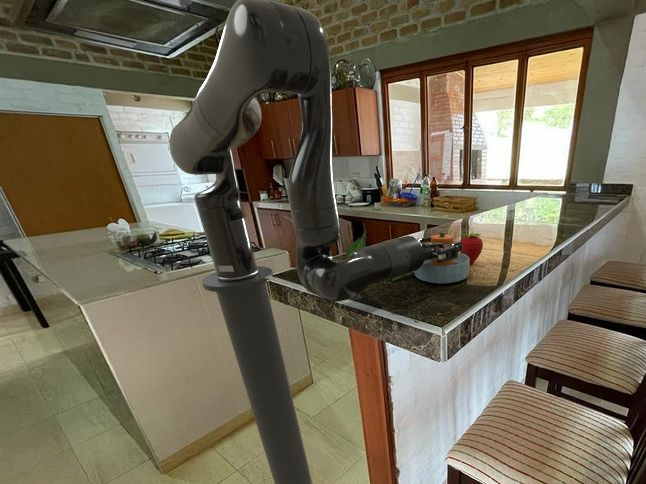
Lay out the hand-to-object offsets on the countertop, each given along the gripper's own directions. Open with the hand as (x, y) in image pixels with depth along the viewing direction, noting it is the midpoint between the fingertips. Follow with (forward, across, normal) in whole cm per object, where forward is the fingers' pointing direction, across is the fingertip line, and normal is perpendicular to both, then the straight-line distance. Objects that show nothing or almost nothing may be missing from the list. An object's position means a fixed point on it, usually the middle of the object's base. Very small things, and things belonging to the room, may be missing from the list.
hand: (446, 243), depth 79 cm
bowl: (-2, 0, +8) cm, 8 cm away
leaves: (-10, +13, +8) cm, 19 cm away
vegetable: (-2, 0, +7) cm, 7 cm away
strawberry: (+10, 0, +8) cm, 13 cm away
